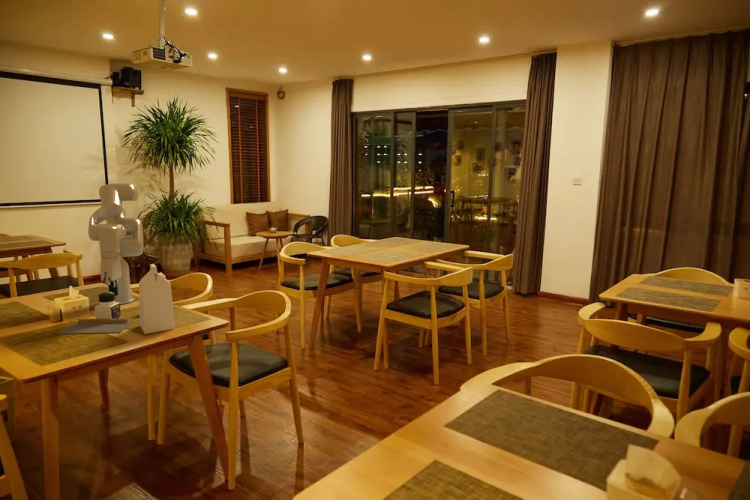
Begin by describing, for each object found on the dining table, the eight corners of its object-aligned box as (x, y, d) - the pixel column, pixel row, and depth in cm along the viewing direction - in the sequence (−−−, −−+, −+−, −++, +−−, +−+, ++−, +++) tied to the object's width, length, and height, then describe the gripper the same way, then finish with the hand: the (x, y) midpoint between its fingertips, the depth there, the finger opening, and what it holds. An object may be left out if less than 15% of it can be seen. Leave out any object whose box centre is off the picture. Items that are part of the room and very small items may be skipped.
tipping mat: (74, 323, 206) (74, 319, 206) (133, 322, 208) (133, 318, 208) (56, 334, 193) (56, 329, 193) (119, 333, 195) (119, 328, 195)
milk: (140, 325, 205) (135, 264, 200) (169, 320, 211) (165, 261, 207) (144, 333, 195) (140, 269, 191) (175, 328, 201) (171, 266, 197)
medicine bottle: (112, 323, 208) (110, 295, 206) (95, 322, 208) (93, 295, 206) (121, 317, 215) (119, 291, 213) (105, 317, 215) (102, 290, 213)
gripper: (109, 251, 220) (112, 291, 223) (92, 257, 205) (96, 300, 208) (126, 251, 221) (129, 291, 223) (111, 257, 206) (114, 299, 209)
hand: (113, 295), depth 216 cm, fingers closed
